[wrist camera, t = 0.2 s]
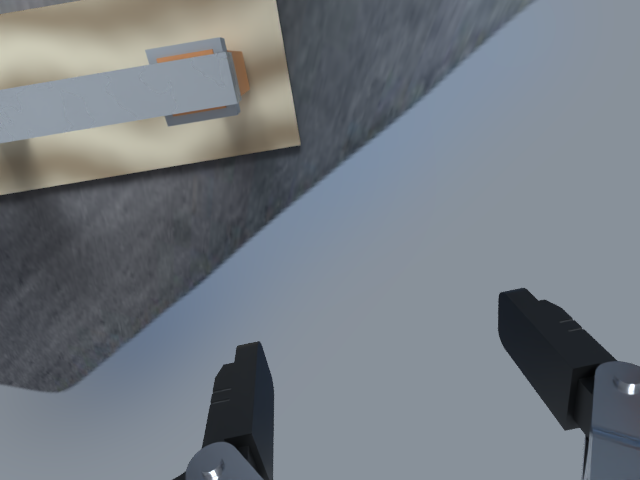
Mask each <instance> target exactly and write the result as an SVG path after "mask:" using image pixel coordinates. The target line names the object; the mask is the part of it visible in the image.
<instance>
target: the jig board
mask: <svg viewBox="0 0 640 480" xmlns="http://www.w3.org/2000/svg"><path fill="white" fill-rule="evenodd" d="M218 37H221V38H224V39H225V44H226V48H227V50H229V51H241V52H242V54H243V59H244V63H245V68H246V73H247V78H248V82H249V87H250V90H248V91H247V92H246V93H244V94H243V95H242V96H241V98H242V100H241V101H240V102H239V106H240V111H241V112H240V113H239V114H238V115H235V116H229V117H223V118H217V119H211V120H205V121H199V122H193V123H187V124H181V125H175V126H169V127H168V125H167V122H166V119H165V116H161V117H155V118H149V119H143V120H137V121H131V122H125V123H119V124H113V125H107V126H101V127H95V128H89V129H83V130H77V131H71V132H65V133H59V134H53V135H47V136H41V137H35V138H29V139H23V140H17V141H11V142H5V143H0V195H4V194H10V193H16V192H22V191H28V190H34V189H40V188H46V187H52V186H58V185H64V184H70V183H76V182H82V181H88V180H94V179H100V178H106V177H112V176H118V175H124V174H130V173H136V172H142V171H148V170H154V169H160V168H166V167H172V166H178V165H184V164H190V163H196V162H202V161H208V160H214V159H220V158H226V157H232V156H238V155H244V154H250V153H256V152H262V151H268V150H274V149H280V148H286V147H292V146H298V145H301V143H300V137H299V132H298V126H297V120H296V114H295V108H294V102H293V97H292V91H291V85H290V79H289V73H288V67H287V62H286V56H285V50H284V44H283V38H282V32H281V27H280V21H279V15H278V9H277V3H276V0H81V1H75V2H70V3H64V4H58V5H52V6H46V7H40V8H34V9H28V10H23V11H17V12H11V13H5V14H0V90H2V89H8V88H14V87H20V86H26V85H32V84H38V83H44V82H49V81H55V80H61V79H67V78H73V77H79V76H85V75H91V74H97V73H103V72H109V71H115V70H121V69H127V68H132V67H138V66H144V65H149V62H148V59H147V55H146V52H145V50H147V49H153V48H159V47H165V46H171V45H177V44H183V43H189V42H195V41H201V40H206V39H212V38H218Z"/></svg>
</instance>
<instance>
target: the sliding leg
mask: <svg viewBox="0 0 640 480" xmlns="http://www.w3.org/2000/svg"><path fill="white" fill-rule="evenodd" d="M145 52H146V55H147V59H148V62H149V65H150V64H156V63H162V62H168V61H174V60H180V59H186V58H192V57H198V56H204V55H210V54H215V53H221V52H231V53H232V57H233V62H234V66H235V71H236V75H237V80H238V85H239V89H240V94H241V96H242V95H243V94H244V93H246V92H247V91H248V90H250V87H249V82H248V78H247V73H246V68H245V63H244V59H243V54H242V52H241V51H229V50H227V48H226V44H225V39H224V38H221V37H218V38H212V39H206V40H201V41H195V42H189V43H183V44H177V45H171V46H165V47H159V48H153V49H147V50H145ZM240 112H241V111H240V106H239V103H238V104H232V105H226V106H220V107H214V108H208V109H202V110H196V111H190V112H184V113H179V114H173V115H167V116H165V119H166V122H167V125H168V127H169V126H175V125H181V124H187V123H193V122H199V121H205V120H211V119H217V118H223V117H229V116H235V115H238V114H239V113H240Z"/></svg>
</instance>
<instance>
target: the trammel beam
mask: <svg viewBox="0 0 640 480" xmlns="http://www.w3.org/2000/svg"><path fill="white" fill-rule="evenodd" d="M241 100H242V98H241V94H240V89H239V85H238V80H237V75H236V71H235V66H234V62H233V57H232V53H231V52H221V53H215V54H210V55H204V56H198V57H192V58H186V59H180V60H174V61H168V62H162V63H156V64H150V65H144V66H138V67H132V68H127V69H121V70H115V71H109V72H103V73H97V74H91V75H85V76H79V77H73V78H67V79H61V80H55V81H49V82H44V83H38V84H32V85H26V86H20V87H14V88H8V89H2V90H0V143H5V142H11V141H17V140H23V139H29V138H35V137H41V136H47V135H53V134H59V133H65V132H71V131H77V130H83V129H89V128H95V127H101V126H107V125H113V124H119V123H125V122H131V121H137V120H143V119H149V118H155V117H161V116H167V115H173V114H179V113H184V112H190V111H196V110H202V109H208V108H214V107H220V106H226V105H232V104H238V103H239V102H240V101H241Z"/></svg>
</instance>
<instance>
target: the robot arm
mask: <svg viewBox="0 0 640 480" xmlns="http://www.w3.org/2000/svg"><path fill="white" fill-rule="evenodd" d="M498 306H499V308H498V331H499V337H500V340H501V342H502V344H503V346H504V348H505V350H506V351H507V352H508V354H509V355H510V356H511V358H512V359H513V360H514V362H515V363H516V365H517V366H518V367H519V368H520V370H521V371H522V373H523V374H524V375H525V377H526V378H527V380H528V381H529V382H530V384H531V385H532V386H533V387H534V389H535V390H536V392H537V393H538V394H539V396H540V397H541V399H542V400H543V401H544V403H545V404H546V405H547V407H548V408H549V410H550V411H551V412H552V414H553V415H554V416H555V418H556V419H557V420H558V422H559V423H560V425H561V426H562V427H563V429H564V430H570V429H575V428H581V430H582V431H583V432H584V434H585V440H584V453H583V464H582V477H581V480H640V367H639V366H637V365H634V364H631V363H627V362H621V361H617V360H616V359H615V358H614V357H612V355H611V354H610V353H609V352H607V351H606V350H605V349H604V348H603V347H602V346H601V345H600V344H599V343H598V342H597V341H596V340H595V339H593V337H592V336H590V335H589V334H588V333H587V332H586V331H585V330H583V329H582V327H581V326H580V325H579V324H578V323H577V322H576V321H573V319H572V317H570V316H569V315H568V314H567V313H566V312H565V311H564V310H563V309H562V308H560V307H559V306H557V305H555V304H553V303H550V302H549V301H547V300H540V301H538V300H537V299H536V298H535V297H534V296H533V295H532V294H531V293H530V292H529V291H528V290H527V289H525V288H520V289H515V290H510V291H505V292H501V293H500V294H499V305H498ZM273 388H274V387H273V381H272V377H271V373H270V370H269V367H268V363H267V361H266V357H265V354H264V351H263V348H262V345H261V343H260V342H259V341H258V342H254V343H248V344H244V345H239V346H237V348H236V355H235V362H234V363H230V364H225V365H223V367H222V368H221V370H220V371H219V373H218V374H217V376H216V378H215V382H214V387H213V394H212V398H211V405H210V409H209V413H208V419H207V424H206V430H205V435H204V440H203V445H202V449H201V450H200V451H199V452H197V453H196V454H195V455H194V457H193V458H192V459H191V461H190V462H189V464H188V467H187V469H186V472H184V473H183V474H181V475H180V476H178V477H177V478H175V479H173V480H273V436H274V432H273V431H274V389H273Z"/></svg>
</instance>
